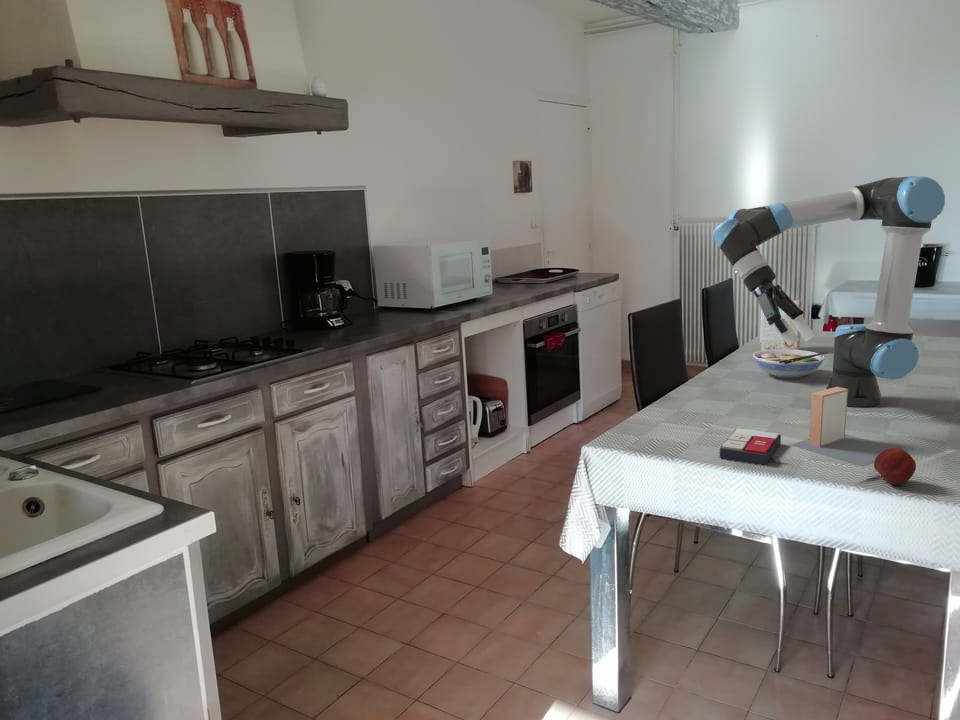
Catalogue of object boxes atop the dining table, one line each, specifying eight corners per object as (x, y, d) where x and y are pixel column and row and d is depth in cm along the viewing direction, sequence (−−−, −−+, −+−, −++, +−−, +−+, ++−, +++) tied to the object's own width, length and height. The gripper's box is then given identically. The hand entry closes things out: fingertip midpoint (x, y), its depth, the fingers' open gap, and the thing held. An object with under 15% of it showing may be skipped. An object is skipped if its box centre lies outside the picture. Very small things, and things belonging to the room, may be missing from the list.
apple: (908, 492, 157) (911, 456, 156) (868, 484, 162) (870, 448, 161) (917, 482, 163) (920, 446, 161) (877, 474, 168) (880, 439, 166)
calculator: (719, 445, 180) (735, 425, 193) (718, 462, 181) (735, 441, 194) (767, 452, 174) (781, 431, 187) (766, 469, 176) (780, 447, 188)
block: (833, 436, 192) (836, 386, 189) (844, 439, 189) (848, 389, 186) (808, 444, 187) (811, 393, 184) (819, 447, 184) (822, 395, 181)
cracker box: (799, 352, 295) (802, 299, 290) (796, 355, 290) (799, 301, 285) (762, 350, 302) (764, 298, 298) (758, 352, 297) (760, 300, 293)
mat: (834, 434, 196) (834, 431, 196) (907, 453, 180) (907, 450, 180) (789, 447, 187) (789, 444, 187) (861, 469, 171) (862, 466, 171)
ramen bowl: (781, 365, 274) (782, 343, 272) (840, 377, 255) (841, 353, 253) (735, 376, 261) (736, 353, 259) (793, 388, 242) (794, 363, 240)
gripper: (760, 280, 208) (805, 344, 202) (724, 282, 189) (772, 353, 183) (783, 263, 204) (830, 329, 198) (749, 263, 185) (799, 336, 179)
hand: (802, 340), depth 190 cm, fingers open, 13 cm apart
